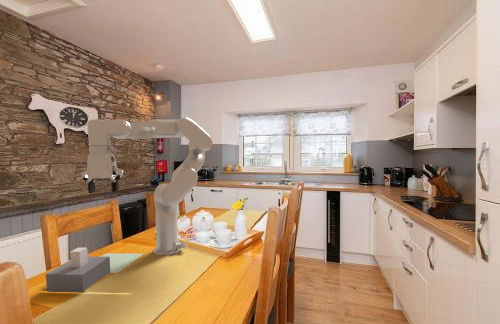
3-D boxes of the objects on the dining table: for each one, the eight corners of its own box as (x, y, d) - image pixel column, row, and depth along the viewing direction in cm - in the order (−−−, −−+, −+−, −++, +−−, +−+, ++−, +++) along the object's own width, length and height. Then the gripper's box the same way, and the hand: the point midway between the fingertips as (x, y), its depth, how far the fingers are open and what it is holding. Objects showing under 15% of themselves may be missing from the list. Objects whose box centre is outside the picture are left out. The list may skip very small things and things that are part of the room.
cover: (110, 272, 90) (108, 242, 90) (83, 292, 77) (81, 258, 77) (78, 271, 91) (76, 242, 91) (47, 291, 78) (44, 257, 78)
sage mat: (143, 254, 107) (143, 253, 107) (118, 274, 89) (118, 272, 89) (106, 254, 109) (106, 253, 109) (73, 273, 91) (73, 272, 91)
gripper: (126, 149, 100) (129, 189, 101) (86, 151, 101) (89, 191, 101) (115, 149, 92) (118, 192, 93) (72, 151, 93) (76, 194, 94)
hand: (103, 192), depth 97 cm, fingers open, 9 cm apart
